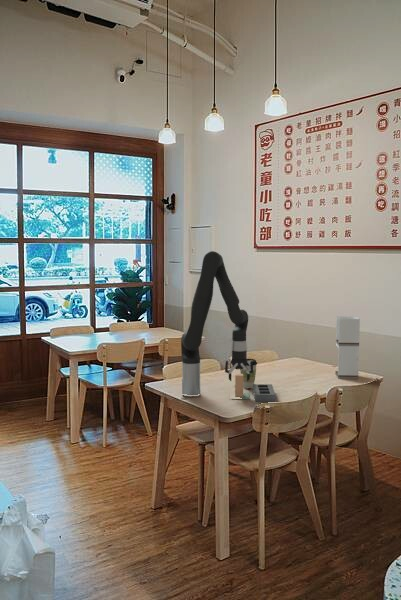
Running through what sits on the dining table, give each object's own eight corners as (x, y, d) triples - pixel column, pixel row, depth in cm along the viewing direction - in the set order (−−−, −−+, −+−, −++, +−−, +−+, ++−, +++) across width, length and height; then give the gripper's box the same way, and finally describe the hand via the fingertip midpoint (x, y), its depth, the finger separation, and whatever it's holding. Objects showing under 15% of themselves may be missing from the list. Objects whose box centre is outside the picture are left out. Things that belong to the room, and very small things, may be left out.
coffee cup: (242, 390, 285) (242, 362, 283) (236, 385, 294) (236, 358, 293) (259, 388, 287) (259, 361, 286) (253, 384, 297) (253, 357, 295)
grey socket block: (255, 402, 262) (255, 394, 262) (252, 391, 282) (252, 384, 281) (275, 402, 262) (275, 394, 261) (271, 391, 281) (271, 384, 281)
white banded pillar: (354, 374, 318) (356, 316, 315) (358, 379, 308) (359, 318, 304) (335, 374, 319) (336, 316, 316) (338, 378, 309) (339, 318, 305)
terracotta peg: (235, 396, 270) (235, 375, 269) (235, 394, 274) (235, 373, 273) (243, 397, 270) (243, 375, 269) (243, 394, 274) (243, 373, 273)
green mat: (229, 399, 267) (229, 398, 267) (229, 394, 277) (229, 393, 277) (249, 399, 267) (249, 398, 267) (248, 394, 277) (248, 393, 277)
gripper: (252, 348, 273) (252, 379, 275) (225, 347, 274) (225, 378, 275) (253, 350, 266) (253, 382, 267) (225, 350, 266) (225, 382, 268)
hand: (239, 380), depth 271 cm, fingers open, 8 cm apart
